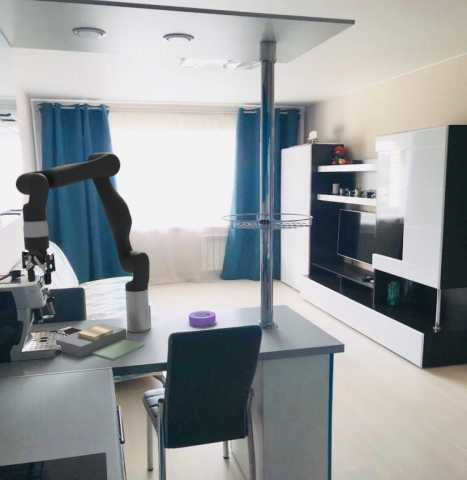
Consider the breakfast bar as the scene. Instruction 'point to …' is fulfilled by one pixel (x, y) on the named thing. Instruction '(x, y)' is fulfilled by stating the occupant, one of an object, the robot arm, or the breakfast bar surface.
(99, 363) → the breakfast bar surface
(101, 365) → the breakfast bar surface
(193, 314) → the masking tape
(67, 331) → the smartphone
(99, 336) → the cork coaster
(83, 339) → the gray rectangular box
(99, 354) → the sage mat
